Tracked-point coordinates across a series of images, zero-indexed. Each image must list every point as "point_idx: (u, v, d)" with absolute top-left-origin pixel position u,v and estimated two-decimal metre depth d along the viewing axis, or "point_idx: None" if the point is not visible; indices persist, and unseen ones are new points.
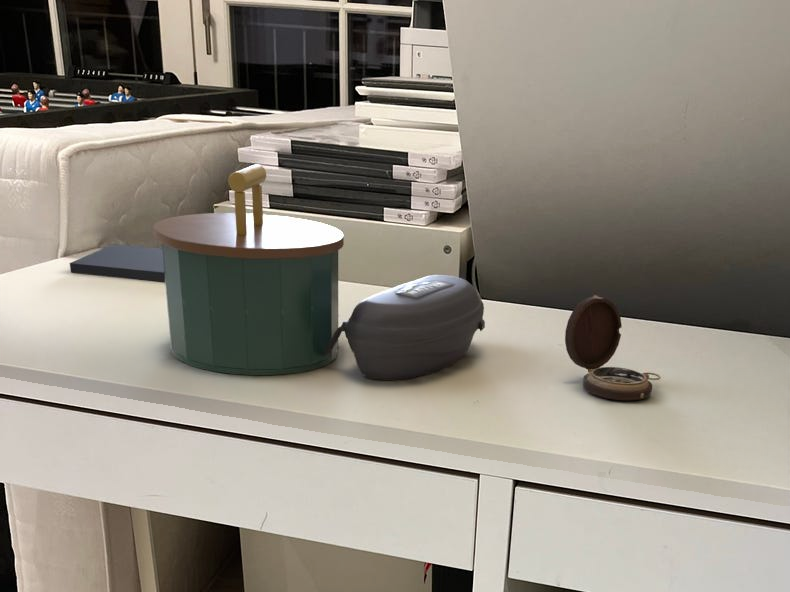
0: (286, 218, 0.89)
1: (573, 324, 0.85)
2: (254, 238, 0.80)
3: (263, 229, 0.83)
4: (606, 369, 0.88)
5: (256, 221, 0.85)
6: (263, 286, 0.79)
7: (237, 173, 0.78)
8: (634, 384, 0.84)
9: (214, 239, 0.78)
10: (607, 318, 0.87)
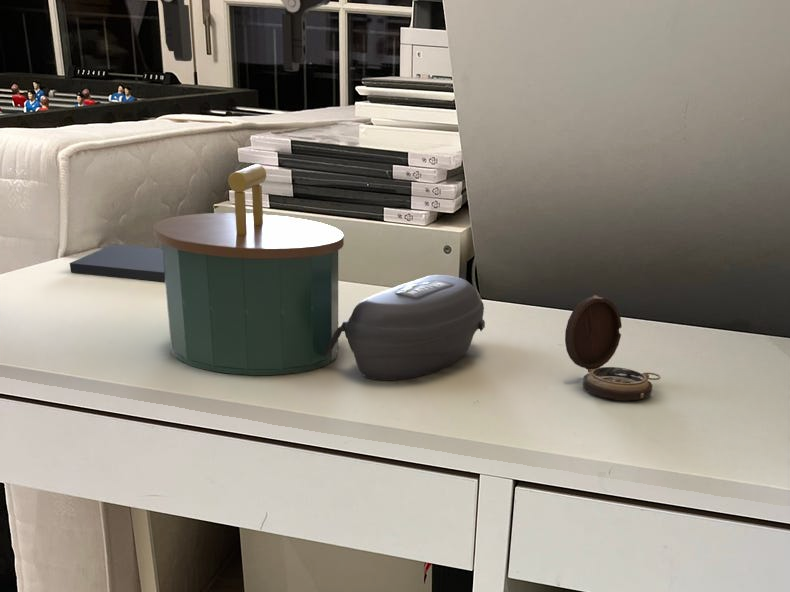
0: (286, 218, 0.89)
1: (573, 324, 0.85)
2: (254, 238, 0.80)
3: (263, 229, 0.83)
4: (606, 369, 0.88)
5: (256, 221, 0.85)
6: (263, 286, 0.79)
7: (237, 173, 0.78)
8: (634, 384, 0.84)
9: (214, 239, 0.78)
10: (607, 318, 0.87)
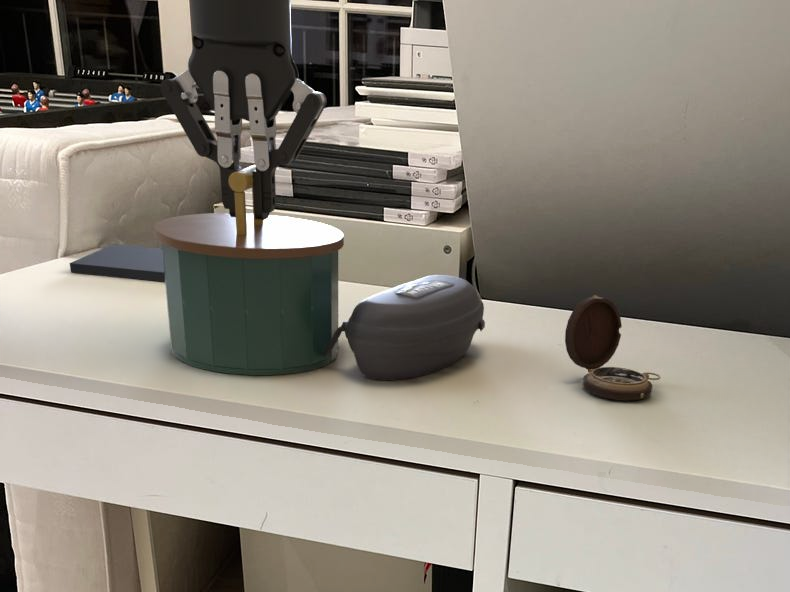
0: (286, 218, 0.89)
1: (573, 324, 0.85)
2: (254, 238, 0.80)
3: (263, 229, 0.83)
4: (606, 369, 0.88)
5: (256, 221, 0.85)
6: (263, 286, 0.79)
7: (237, 173, 0.78)
8: (634, 384, 0.84)
9: (214, 239, 0.78)
10: (607, 318, 0.87)
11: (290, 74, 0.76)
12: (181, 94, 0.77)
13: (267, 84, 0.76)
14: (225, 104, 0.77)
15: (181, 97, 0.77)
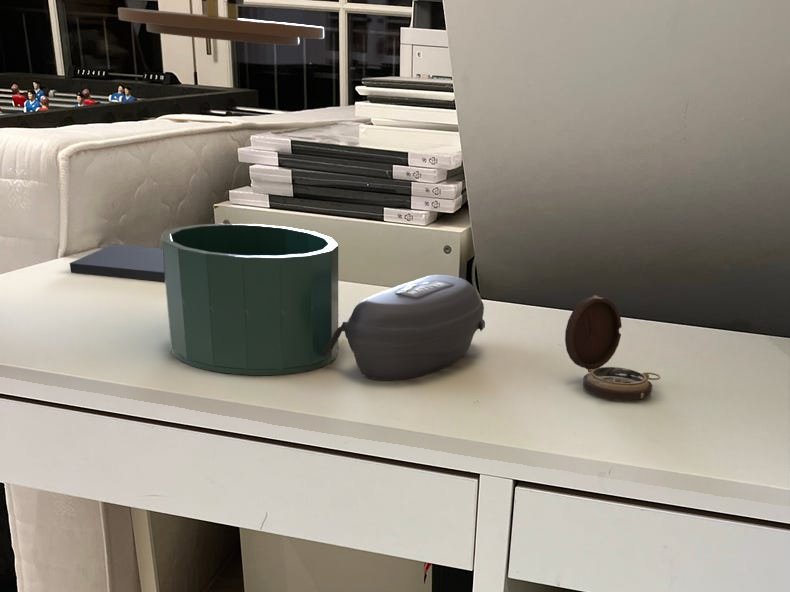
0: None
1: (573, 324, 0.85)
2: None
3: None
4: (606, 369, 0.88)
5: (230, 13, 0.79)
6: (263, 286, 0.79)
7: None
8: (634, 384, 0.84)
9: None
10: (607, 318, 0.87)
11: None
12: None
13: None
14: None
15: None
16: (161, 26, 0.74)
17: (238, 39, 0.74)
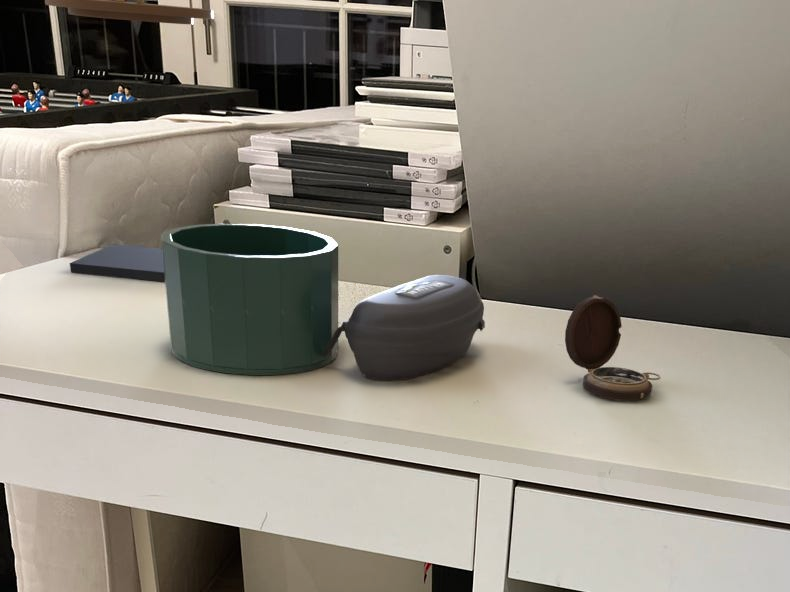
0: None
1: (573, 324, 0.85)
2: None
3: (142, 3, 0.97)
4: (606, 369, 0.88)
5: None
6: (263, 286, 0.79)
7: None
8: (634, 384, 0.84)
9: None
10: (607, 318, 0.87)
11: None
12: None
13: None
14: None
15: None
16: (77, 9, 0.93)
17: (138, 19, 0.93)
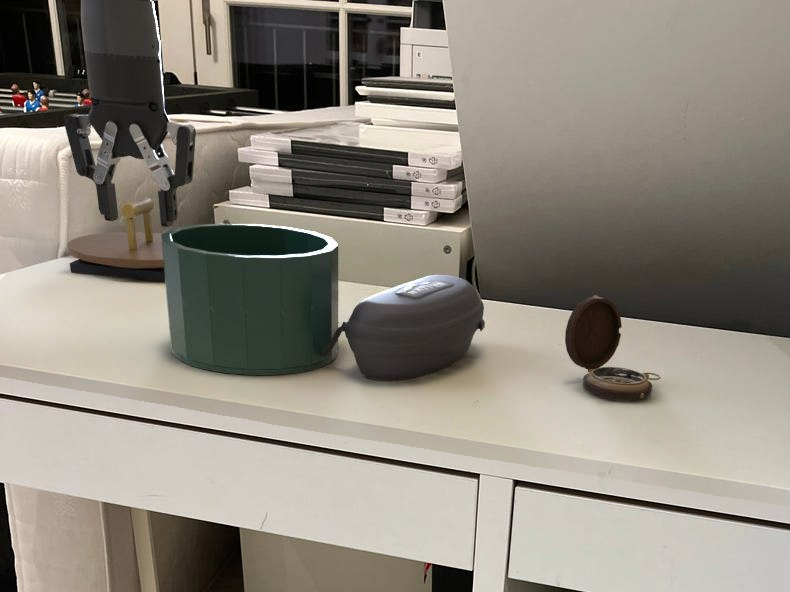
0: None
1: (573, 324, 0.85)
2: (141, 252, 1.08)
3: (151, 245, 1.12)
4: (606, 369, 0.88)
5: (147, 238, 1.13)
6: (263, 286, 0.79)
7: (127, 204, 1.07)
8: (634, 384, 0.84)
9: (110, 253, 1.07)
10: (607, 318, 0.87)
11: (161, 120, 1.04)
12: (77, 129, 1.05)
13: (146, 131, 1.04)
14: (110, 144, 1.05)
15: (76, 131, 1.05)
16: None
17: (149, 268, 1.08)
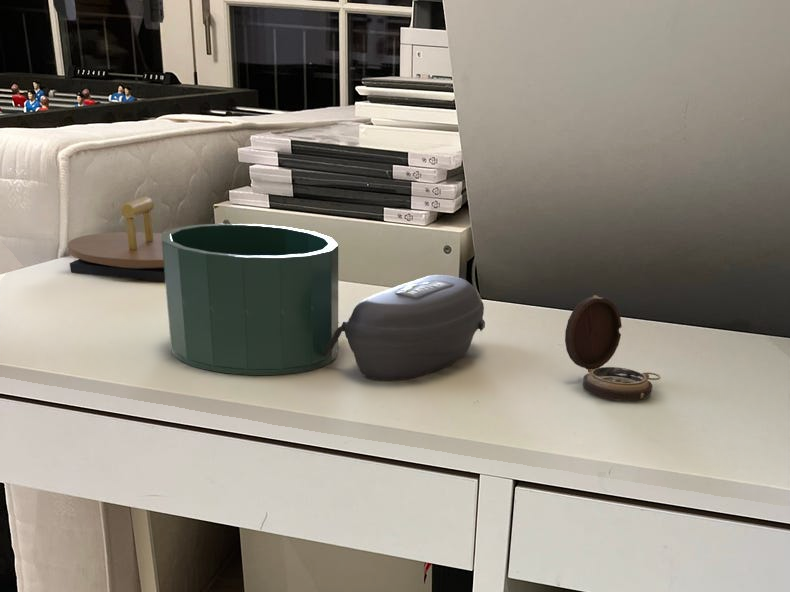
0: None
1: (573, 324, 0.85)
2: (141, 252, 1.08)
3: (151, 245, 1.12)
4: (606, 369, 0.88)
5: (147, 238, 1.13)
6: (263, 286, 0.79)
7: (127, 204, 1.07)
8: (634, 384, 0.84)
9: (110, 253, 1.07)
10: (607, 318, 0.87)
11: None
12: None
13: None
14: None
15: None
16: None
17: (149, 268, 1.08)
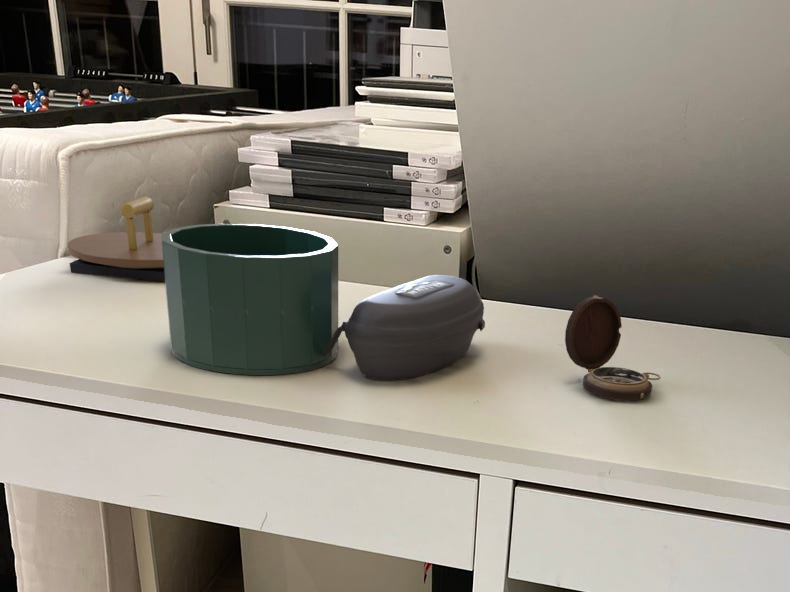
0: None
1: (573, 324, 0.85)
2: (141, 252, 1.08)
3: (151, 245, 1.12)
4: (606, 369, 0.88)
5: (147, 238, 1.13)
6: (263, 286, 0.79)
7: (127, 204, 1.07)
8: (634, 384, 0.84)
9: (110, 253, 1.07)
10: (607, 318, 0.87)
11: None
12: None
13: None
14: None
15: None
16: None
17: (149, 268, 1.08)
